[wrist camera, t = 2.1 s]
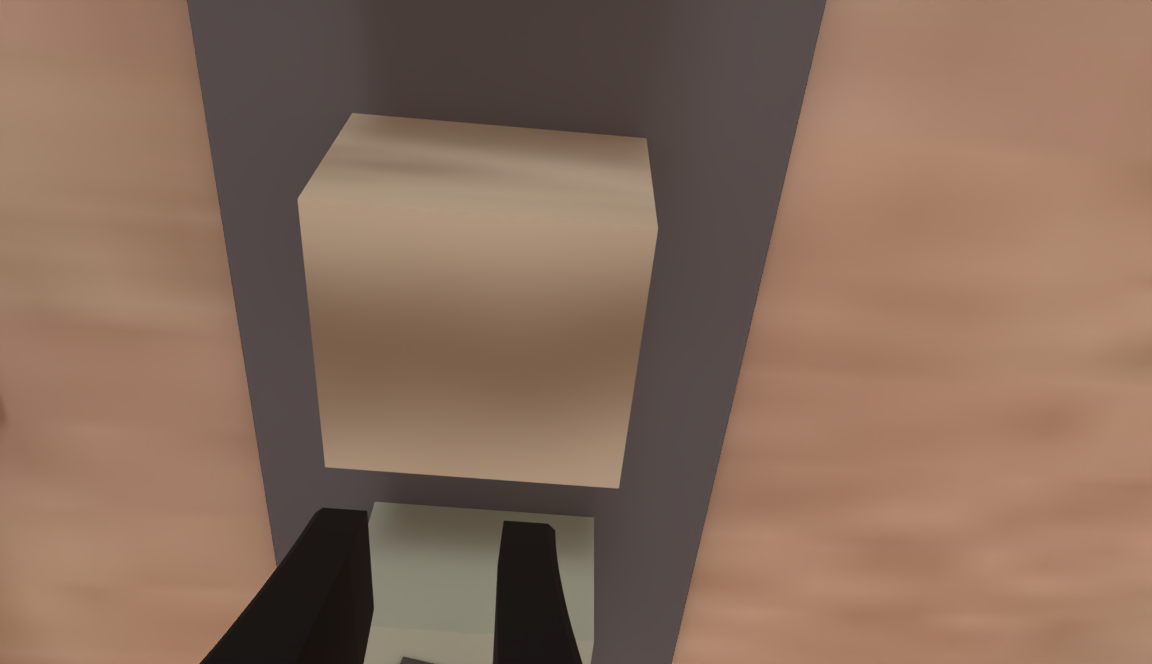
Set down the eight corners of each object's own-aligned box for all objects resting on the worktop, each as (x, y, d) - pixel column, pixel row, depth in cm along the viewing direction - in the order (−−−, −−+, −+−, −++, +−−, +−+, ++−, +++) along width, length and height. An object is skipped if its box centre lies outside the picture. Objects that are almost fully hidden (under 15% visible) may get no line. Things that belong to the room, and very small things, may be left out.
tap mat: (667, 665, 29) (668, 678, 28) (295, 640, 28) (290, 654, 28) (979, -702, 12) (993, -717, 11) (75, -808, 12) (55, -829, 11)
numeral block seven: (576, 652, 28) (573, 781, 24) (383, 640, 27) (353, 767, 24) (593, 517, 24) (593, 644, 21) (374, 501, 24) (339, 626, 21)
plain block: (615, 372, 21) (618, 488, 18) (367, 353, 21) (325, 466, 18) (646, 138, 18) (657, 228, 15) (352, 113, 18) (296, 198, 15)
